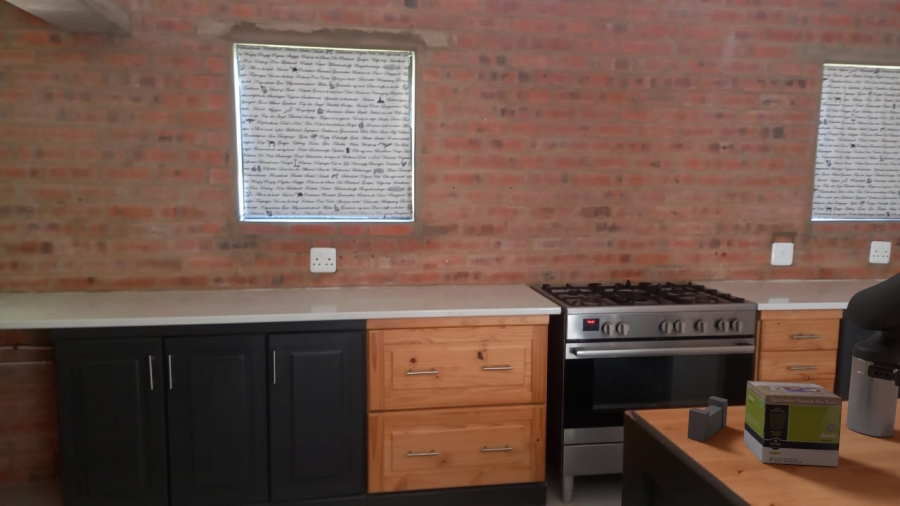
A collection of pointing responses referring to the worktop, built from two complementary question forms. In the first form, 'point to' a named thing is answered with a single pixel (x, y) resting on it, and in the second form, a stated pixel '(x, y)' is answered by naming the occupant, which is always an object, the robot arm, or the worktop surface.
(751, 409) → the tea box
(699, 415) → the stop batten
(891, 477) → the worktop surface
